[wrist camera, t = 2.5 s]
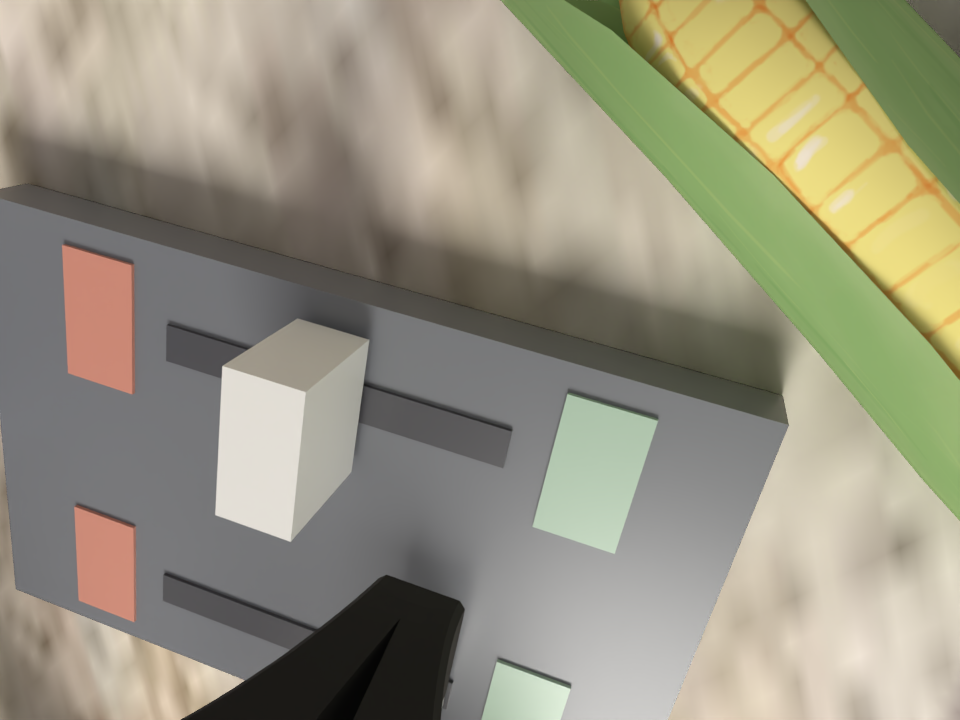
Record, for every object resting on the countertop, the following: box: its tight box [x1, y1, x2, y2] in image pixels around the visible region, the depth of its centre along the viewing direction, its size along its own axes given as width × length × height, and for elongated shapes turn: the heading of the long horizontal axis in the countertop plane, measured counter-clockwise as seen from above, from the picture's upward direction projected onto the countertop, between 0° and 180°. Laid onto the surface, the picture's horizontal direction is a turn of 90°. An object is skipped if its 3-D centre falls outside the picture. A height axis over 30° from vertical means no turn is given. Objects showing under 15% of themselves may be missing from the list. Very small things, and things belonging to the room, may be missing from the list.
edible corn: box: [501, 0, 960, 520], centre depth 13 cm, size 5×20×5 cm, turn 46°
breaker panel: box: [0, 184, 789, 720], centre depth 21 cm, size 20×13×2 cm, turn 79°
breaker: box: [215, 318, 369, 542], centre depth 17 cm, size 2×4×3 cm, turn 169°
